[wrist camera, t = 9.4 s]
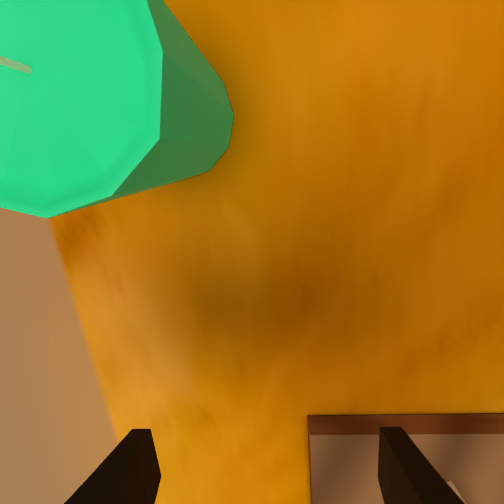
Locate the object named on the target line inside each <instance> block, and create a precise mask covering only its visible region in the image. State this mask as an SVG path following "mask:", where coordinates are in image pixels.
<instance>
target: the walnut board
mask: <svg viewBox="0 0 504 504" xmlns="http://www.w3.org/2000/svg"><path fill="white" fill-rule="evenodd" d="M307 417H308V440H309V463H310V486H311V504H384V501H383V497H382V493H381V489H380V485H379V481H378V453H379V429H380V427H402V428H403V429H404V430H405V432H406V433H407V434H408V435H409V437H410V438H411V439H412V441H413V442H414V443H415V445H416V446H417V447H418V448H419V450H420V451H421V452H422V453H423V455H424V456H425V457H426V458H427V460H428V461H429V462H430V463H431V464H432V466H433V467H434V468H435V469H436V471H437V472H438V473H439V474H440V475H441V477H442V478H443V479H444V480H445V481H446V482H449V481H452V483H453V484H454V486H455V487H456V489H457V490H458V492H459V493H460V495H461V496H462V498H463V499H464V501H465V502H466V504H504V413H501V414H421V415H340V416H307Z"/></svg>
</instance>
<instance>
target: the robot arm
mask: <svg viewBox="0 0 504 504" xmlns="http://www.w3.org/2000/svg"><path fill="white" fill-rule="evenodd" d="M160 479H161V472H160V468H159V464H158V459H157V455H156V451H155V446H154V442H153V438H152V434H151V429H132V430H131V431H130V432H129V433H128V434H127V435H126V437H125V438H124V439H123V440H122V441H121V442H120V443H119V444H118V445H117V446H116V448H115V449H114V450H113V451H112V452H111V453H110V454H109V455H108V457H107V458H106V459H105V460H104V461H103V462H102V463H101V464H100V465H99V467H98V468H97V469H96V470H95V471H94V472H93V473H92V474H91V475H90V476H89V477H88V479H87V480H86V481H85V482H84V483H83V484H82V485H81V486H80V487H79V488H78V489H77V490H76V492H75V493H74V494H73V495H72V496H71V497H70V498H69V499H68V500H67V501H66V502H65V503H64V504H154V503H155V499H156V496H157V492H158V487H159V483H160ZM378 481H379V485H380V489H381V493H382V497H383V501H384V504H465V503H464V502H463V501H462V500H461V499H460V497H459V496H458V495H457V494H456V493H455V492H454V491H453V489H452V488H451V487H450V486H449V485H448V484H447V482H446V481H445V480H444V479H443V478H442V477H441V475H440V474H439V473H438V472H437V471H436V469H435V468H434V467H433V466H432V464H431V463H430V462H429V461H428V460H427V458H426V457H425V456H424V455H423V453H422V452H421V451H420V450H419V448H418V447H417V446H416V445H415V443H414V442H413V441H412V439H411V438H410V437H409V435H408V434H407V433H406V432H405V430H404V429H403V428H402V427H380V429H379V453H378Z"/></svg>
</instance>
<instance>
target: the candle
mask: <svg viewBox="0 0 504 504" xmlns="http://www.w3.org/2000/svg"><path fill="white" fill-rule="evenodd" d="M233 118H234V114H233V111H232V108H231V105H230V102H229V99H228V95H227V92H226V89H225V86H224V83H223V82H222V80H221V79H220V78H219V76H218V75H217V73H216V72H215V71H214V69H213V68H212V67H211V65H210V64H209V63H208V61H207V60H206V59H205V57H204V56H203V54H202V53H201V52H200V50H199V49H198V48H197V46H196V45H195V44H194V42H193V41H192V39H191V38H190V37H189V35H188V34H187V33H186V31H185V30H184V29H183V27H182V26H181V25H180V23H179V22H178V20H177V19H176V18H175V16H174V15H173V14H172V12H171V11H170V10H169V8H168V7H167V5H166V4H165V3H164V1H163V0H0V207H1V208H6V209H10V210H14V211H18V212H23V213H27V214H31V215H35V216H40V217H44V218H50V217H53V216H57V215H60V214H64V213H67V212H71V211H75V210H78V209H82V208H85V207H89V206H92V205H96V204H99V203H103V202H106V201H110V200H113V199H117V198H120V197H124V196H127V195H131V194H134V193H138V192H141V191H145V190H149V189H152V188H156V187H159V186H163V185H166V184H170V183H173V182H177V181H180V180H184V179H187V178H189V177H192V176H195V175H198V174H201V173H204V172H207V171H210V169H211V168H212V167H213V166H214V164H215V163H216V162H217V161H218V160H219V158H220V157H221V156H222V155H223V153H224V152H225V151H226V150H227V149H228V147H229V141H230V135H231V129H232V124H233Z"/></svg>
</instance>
